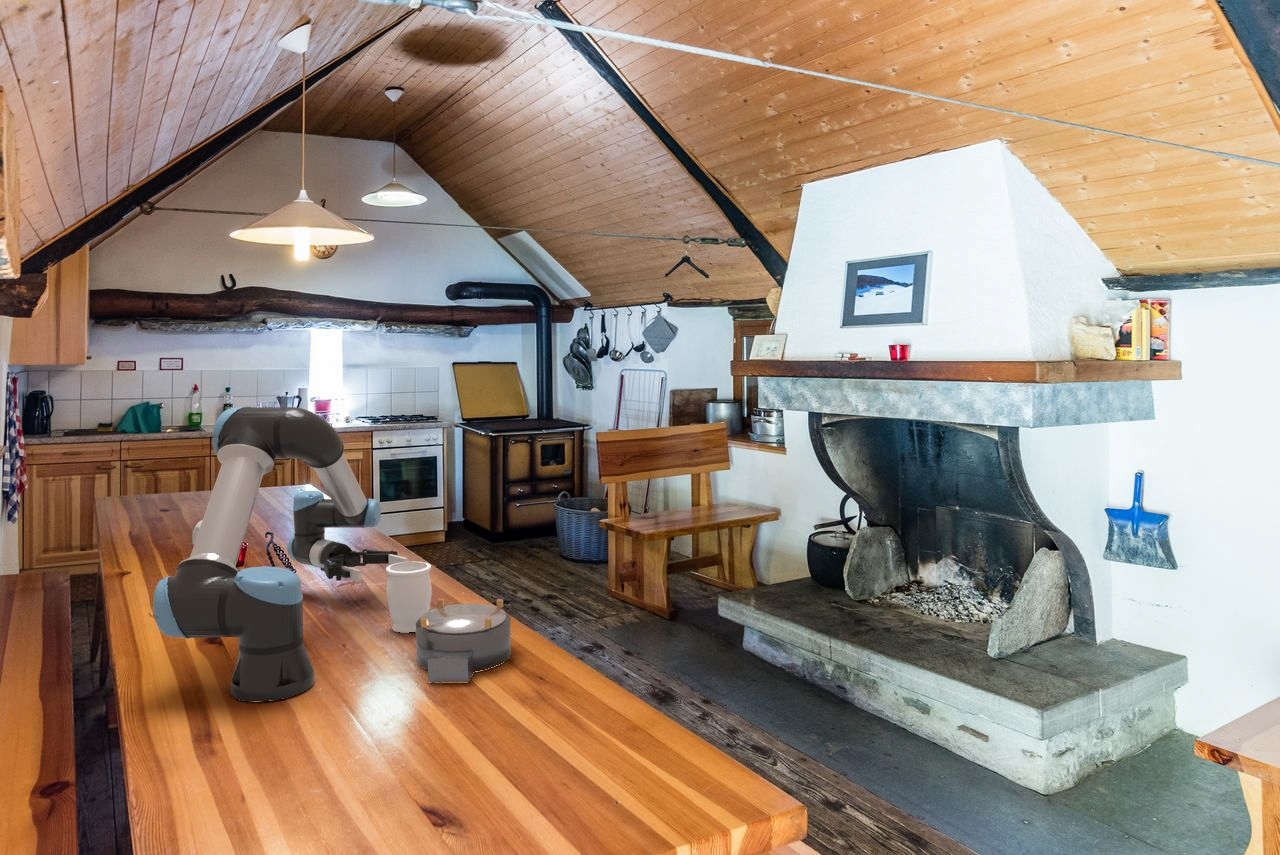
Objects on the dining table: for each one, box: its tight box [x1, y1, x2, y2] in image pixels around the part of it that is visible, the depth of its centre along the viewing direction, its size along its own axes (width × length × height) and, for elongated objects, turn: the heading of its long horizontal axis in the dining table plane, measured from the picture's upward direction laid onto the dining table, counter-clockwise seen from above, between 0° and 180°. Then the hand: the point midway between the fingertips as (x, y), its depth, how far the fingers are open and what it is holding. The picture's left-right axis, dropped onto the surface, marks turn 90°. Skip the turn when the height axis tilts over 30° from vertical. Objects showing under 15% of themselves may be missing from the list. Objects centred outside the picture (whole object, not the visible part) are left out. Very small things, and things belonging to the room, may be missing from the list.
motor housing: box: [415, 598, 512, 683], centre depth 179 cm, size 24×20×11 cm
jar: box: [385, 561, 433, 634], centre depth 200 cm, size 11×10×15 cm
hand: (383, 569), depth 205 cm, fingers open, 13 cm apart
